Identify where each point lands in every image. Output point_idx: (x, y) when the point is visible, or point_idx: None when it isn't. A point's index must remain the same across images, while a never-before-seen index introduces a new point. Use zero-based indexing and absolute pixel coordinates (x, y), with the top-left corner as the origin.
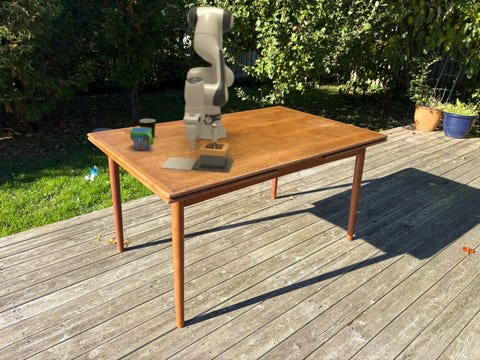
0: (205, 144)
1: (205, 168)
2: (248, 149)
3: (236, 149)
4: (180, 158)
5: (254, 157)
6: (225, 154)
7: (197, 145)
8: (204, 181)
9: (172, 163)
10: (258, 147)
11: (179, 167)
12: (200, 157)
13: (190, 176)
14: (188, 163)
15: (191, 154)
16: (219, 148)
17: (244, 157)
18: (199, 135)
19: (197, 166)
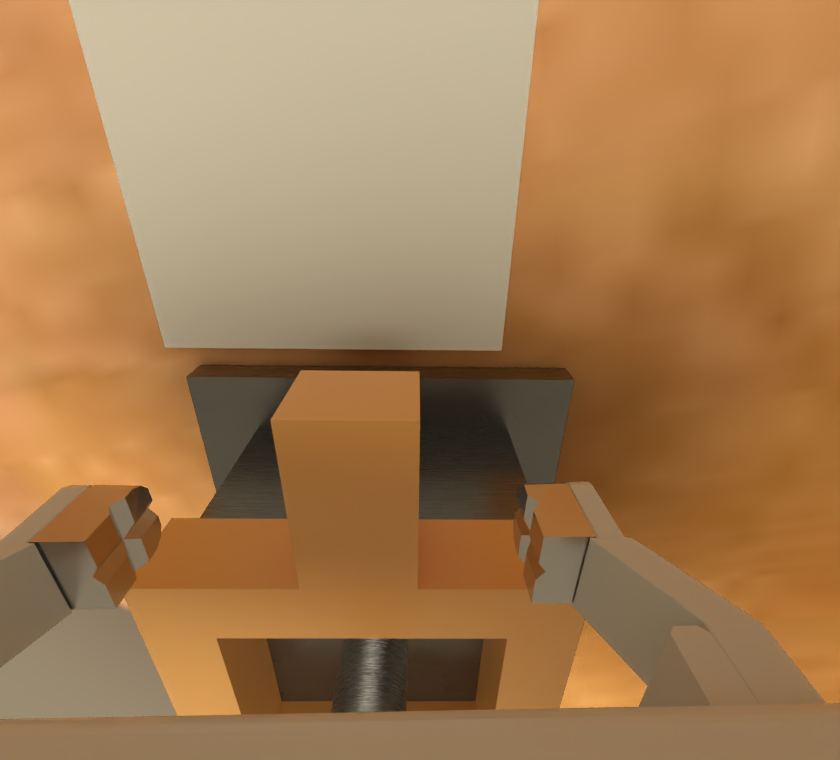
0: (420, 626)
1: (218, 482)
2: (797, 659)
3: (816, 596)
4: (507, 110)
5: (606, 695)
6: None
7: (323, 538)
8: (7, 496)
9: (273, 38)
10: (832, 700)
11: (169, 198)
12: (214, 499)
13: (34, 372)
14: (341, 277)
15: (717, 221)
16: (481, 671)
17: (605, 653)
18: (644, 666)
19: (237, 407)
